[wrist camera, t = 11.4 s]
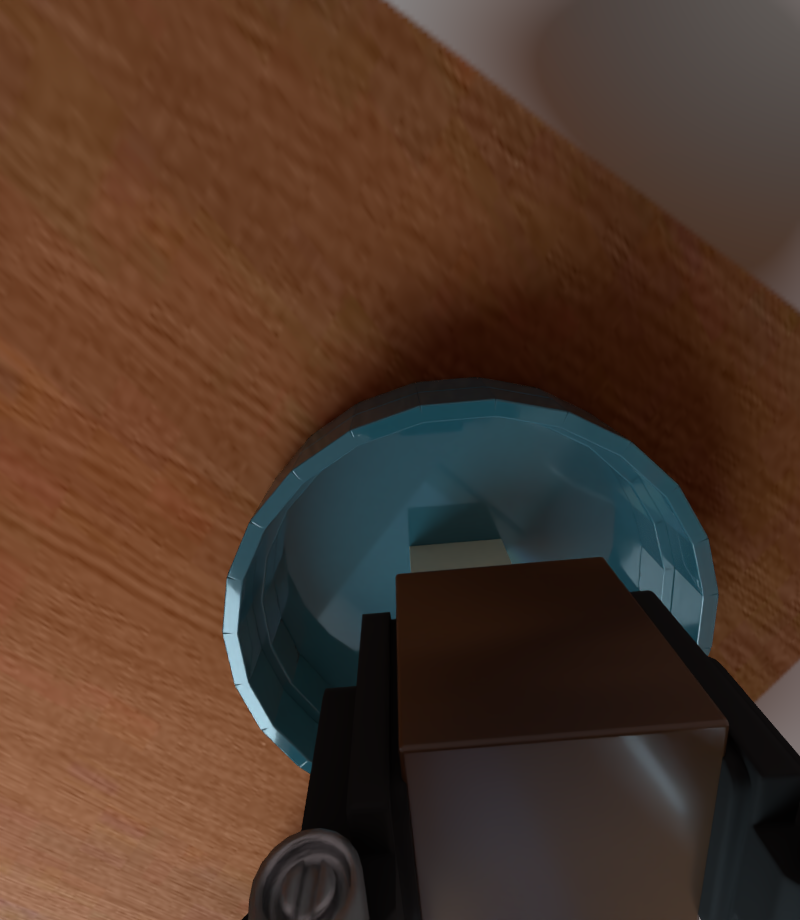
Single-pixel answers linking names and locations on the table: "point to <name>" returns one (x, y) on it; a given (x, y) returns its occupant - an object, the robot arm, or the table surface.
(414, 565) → the cream block
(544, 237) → the table surface
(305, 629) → the bowl
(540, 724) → the walnut block
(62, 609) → the table surface
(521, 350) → the table surface
